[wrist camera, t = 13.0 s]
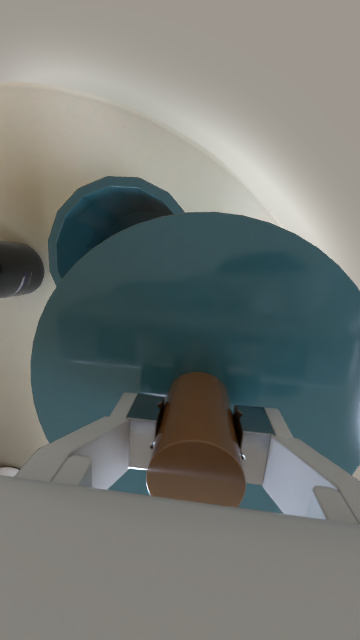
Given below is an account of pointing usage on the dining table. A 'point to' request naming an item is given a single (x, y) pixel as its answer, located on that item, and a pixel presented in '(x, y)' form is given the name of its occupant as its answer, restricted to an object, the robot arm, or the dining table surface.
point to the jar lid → (204, 348)
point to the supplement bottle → (19, 269)
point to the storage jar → (102, 217)
